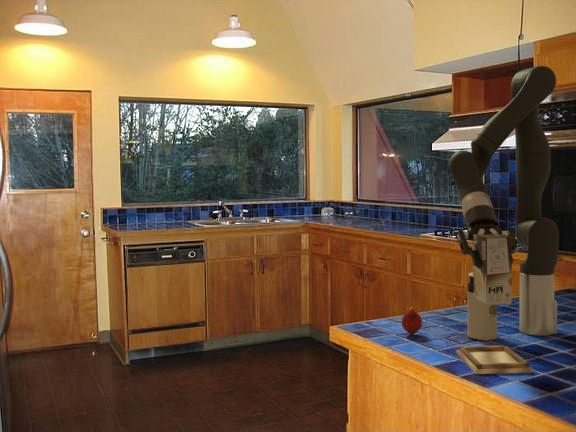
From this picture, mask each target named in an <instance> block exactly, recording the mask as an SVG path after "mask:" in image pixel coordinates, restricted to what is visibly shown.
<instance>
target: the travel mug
mask: <svg viewBox="0 0 576 432" xmlns="http://www.w3.org/2000/svg"><path fill="white" fill-rule="evenodd" d="M467 275H468V276H469V281H468V283H467V337H469V338H471V339H472V338H473V340H475V339H477V341H493V340H495V339H497V338H498V304H493V305H487V304H485V303H483V302H481V301H479V300H477V299H476V298H474V271H473V272H469V273H468V274H467Z"/></svg>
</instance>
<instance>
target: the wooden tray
mask: <svg viewBox="0 0 576 432" xmlns="http://www.w3.org/2000/svg"><path fill="white" fill-rule="evenodd" d="M456 355H457V356H458V357H459V358H460V359H461V360H462V361H463V362H464V363H465V364H466V365H467V366H468V367H469V368H470V369H471V371H473V372H474V374H475V375H487V374H488V375H489V374H490V375H491V374H493V375H495V374H496V375H497V374H527V373H528V374H531V373H533V368H532V367H531V366H530V363H529V362H528V361H527V360H525V359H524V358H523V357H521V356H520V354H517V353H516V352H515V351H513V350H512V349H511V348H510V347H508V346H507V345H506V344H505V345H475V346H474V345H472V346H470V345H467V346H466V345H465V346H459V347H458V349H456Z"/></svg>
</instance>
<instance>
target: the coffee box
mask: <svg viewBox="0 0 576 432" xmlns="http://www.w3.org/2000/svg"><path fill="white" fill-rule="evenodd" d="M475 240H476V245H477V251H478V252H479V256H480V259H481V267H480V268H476V266H474V265H473V269H472V270H473V272H474V298H476V299H477V300H479V301H481V302H483V303H485V304H487V305H493V304H497V305H510V304H512V301H513V300H512V297H513V295H512V294H513V293H512V292H513V291H512V290H513V289H512V285H513V281H512V278H513V275H512V273H513V272H512V270H513V266H512V265H513V263H512V258H513V254H512V237H509V236H505V235H501V234H473V241H472V246H473V245H474V242H475Z"/></svg>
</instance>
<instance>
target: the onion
mask: <svg viewBox="0 0 576 432" xmlns="http://www.w3.org/2000/svg"><path fill="white" fill-rule="evenodd" d="M401 326H402V328H403V330H405V332H407V334H410V335H411V336H413V335H415V334H416V333H417V332H418V331H420V330H421V328H422V327H423V320H422V317H421V315H420V314H419V313H418V312H417V311H415V307H413V306H411V307H410V308H409V310H408V311H407V312H405V313H403V316H402V319H401Z"/></svg>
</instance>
